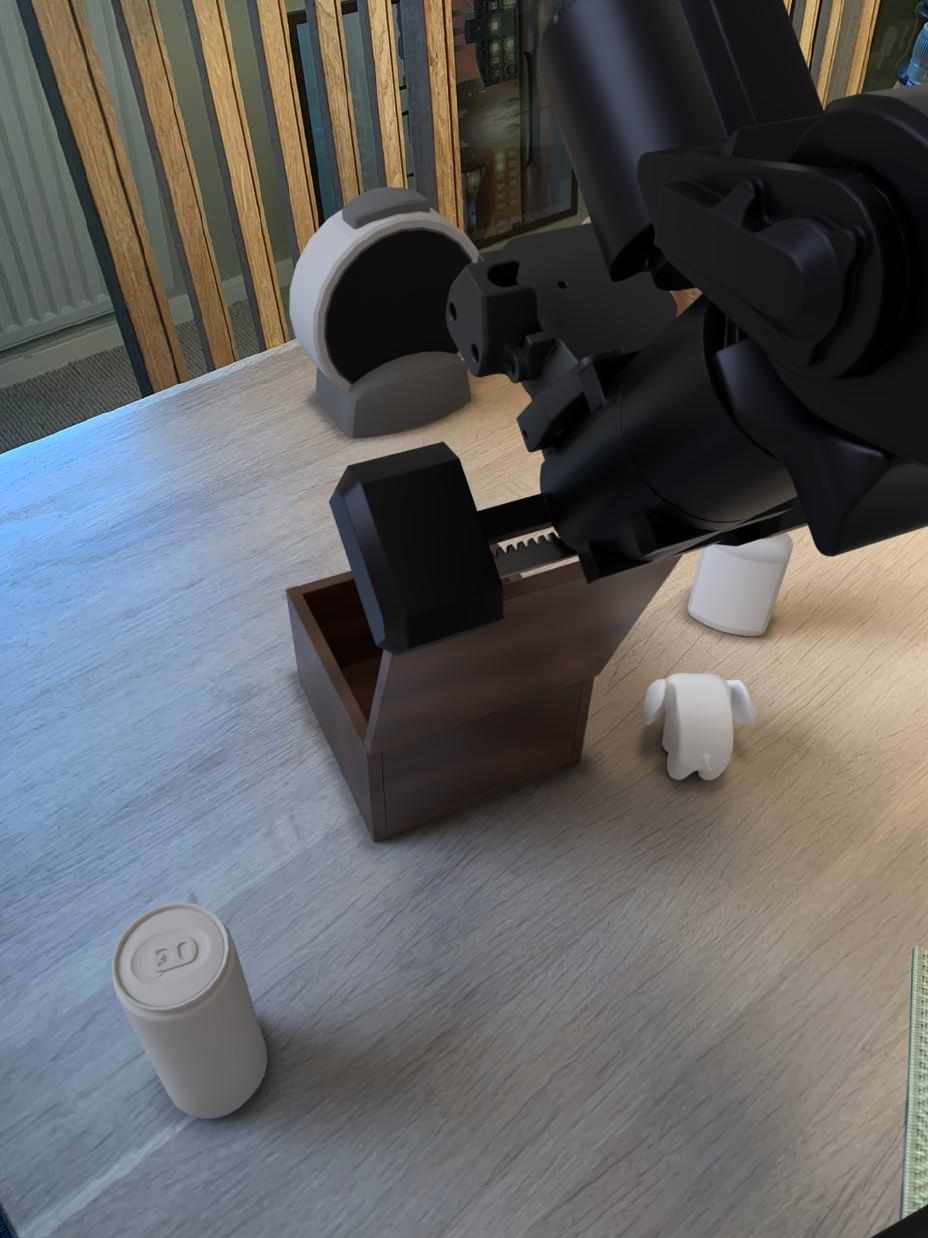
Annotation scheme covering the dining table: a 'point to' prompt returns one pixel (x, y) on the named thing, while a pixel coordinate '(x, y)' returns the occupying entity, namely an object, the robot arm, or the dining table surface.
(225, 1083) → the beverage can
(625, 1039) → the dining table surface
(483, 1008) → the dining table surface
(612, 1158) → the dining table surface
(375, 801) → the box
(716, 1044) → the dining table surface
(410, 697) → the lid
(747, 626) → the eye dropper bottle
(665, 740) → the elephant figurine
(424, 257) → the alarm clock
